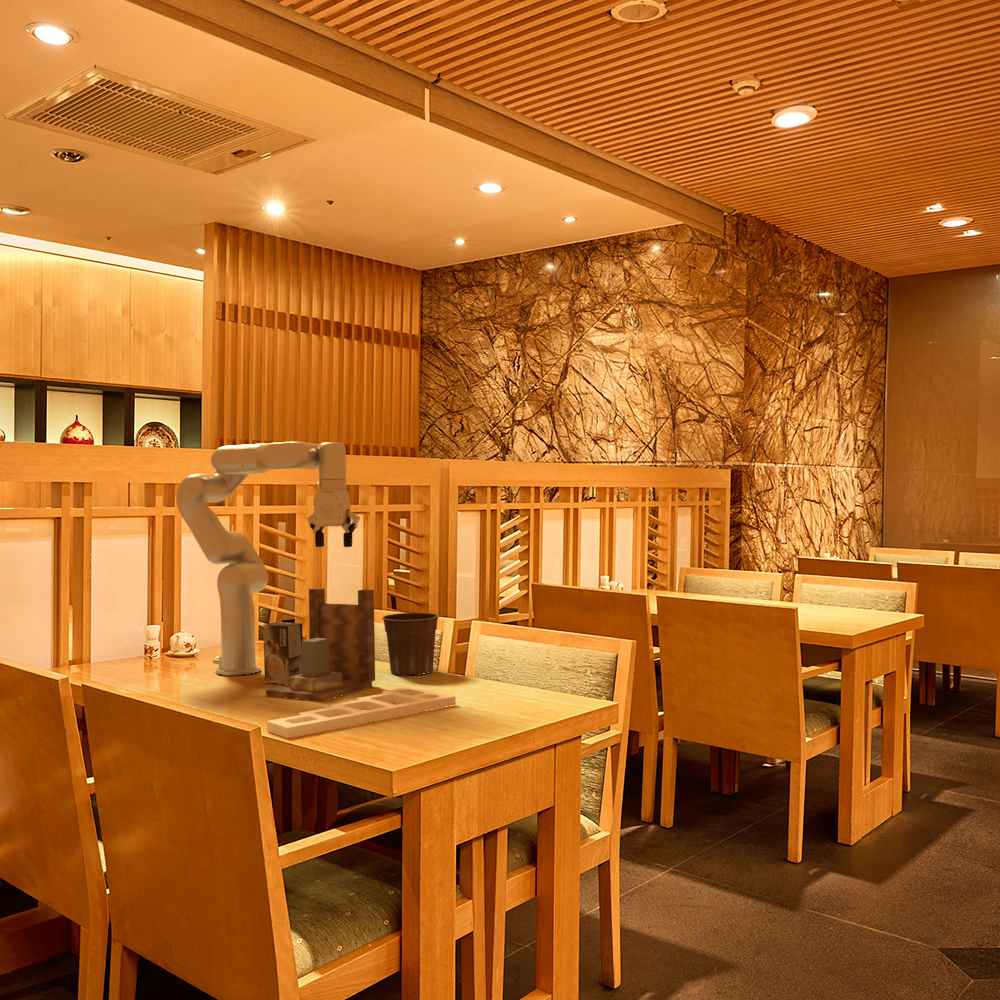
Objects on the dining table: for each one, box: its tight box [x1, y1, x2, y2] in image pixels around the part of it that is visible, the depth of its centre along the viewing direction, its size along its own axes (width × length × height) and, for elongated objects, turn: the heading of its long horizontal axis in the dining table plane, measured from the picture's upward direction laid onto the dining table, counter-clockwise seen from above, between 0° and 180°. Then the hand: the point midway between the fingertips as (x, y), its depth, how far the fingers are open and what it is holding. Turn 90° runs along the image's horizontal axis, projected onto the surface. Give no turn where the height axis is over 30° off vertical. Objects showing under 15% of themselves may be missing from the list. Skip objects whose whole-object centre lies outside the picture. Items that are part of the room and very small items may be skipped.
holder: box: [266, 686, 457, 739], centre depth 224 cm, size 45×18×3 cm, turn 132°
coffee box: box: [262, 621, 304, 685], centre depth 266 cm, size 9×6×16 cm
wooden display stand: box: [265, 587, 376, 702], centre depth 253 cm, size 19×22×26 cm
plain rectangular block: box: [302, 638, 329, 678], centre depth 251 cm, size 4×6×12 cm, turn 153°
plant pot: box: [381, 612, 440, 676], centre depth 278 cm, size 16×16×16 cm
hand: (333, 546), depth 275 cm, fingers open, 9 cm apart
